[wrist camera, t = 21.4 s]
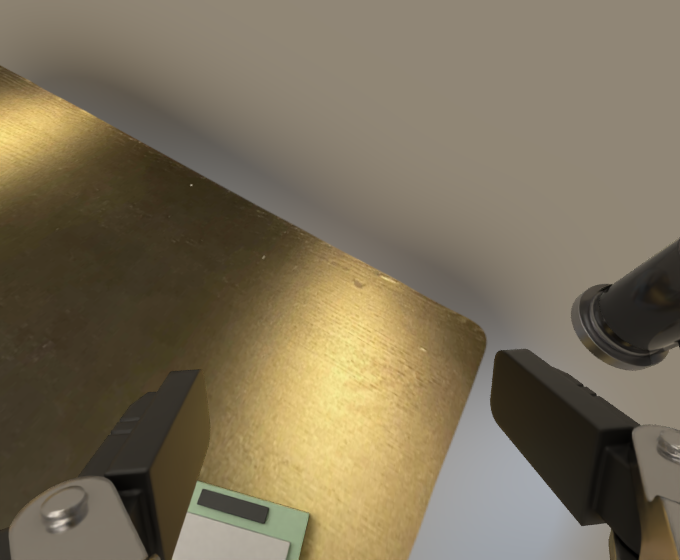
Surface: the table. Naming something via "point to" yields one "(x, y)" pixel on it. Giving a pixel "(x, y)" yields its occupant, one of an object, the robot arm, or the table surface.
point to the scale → (239, 527)
